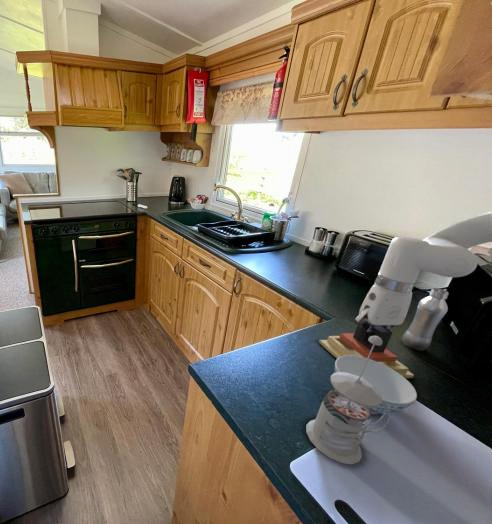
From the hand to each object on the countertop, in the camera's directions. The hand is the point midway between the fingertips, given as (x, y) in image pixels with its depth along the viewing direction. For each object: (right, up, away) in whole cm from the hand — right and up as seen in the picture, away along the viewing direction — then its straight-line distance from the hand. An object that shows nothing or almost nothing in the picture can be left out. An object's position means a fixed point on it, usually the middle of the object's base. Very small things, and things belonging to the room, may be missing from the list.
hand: (369, 341), depth 82 cm
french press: (-25, -14, -24) cm, 37 cm away
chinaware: (-12, -11, -14) cm, 21 cm away
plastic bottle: (+22, -5, +10) cm, 24 cm away
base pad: (0, -6, +2) cm, 6 cm away
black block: (0, -2, +1) cm, 3 cm away
